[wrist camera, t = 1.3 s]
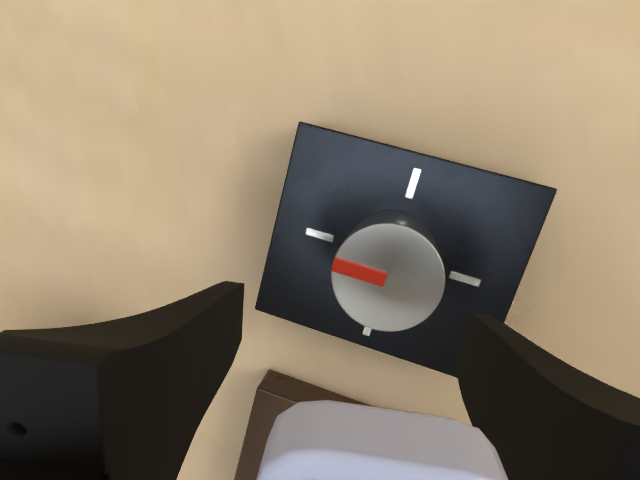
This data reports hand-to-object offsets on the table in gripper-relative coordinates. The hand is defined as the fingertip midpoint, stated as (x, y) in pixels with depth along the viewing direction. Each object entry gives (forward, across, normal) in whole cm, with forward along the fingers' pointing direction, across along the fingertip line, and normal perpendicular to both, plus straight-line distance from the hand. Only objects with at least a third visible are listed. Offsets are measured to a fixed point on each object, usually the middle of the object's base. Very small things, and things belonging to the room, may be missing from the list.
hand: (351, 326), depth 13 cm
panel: (+10, -2, 0) cm, 11 cm away
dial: (+7, -2, 0) cm, 8 cm away
